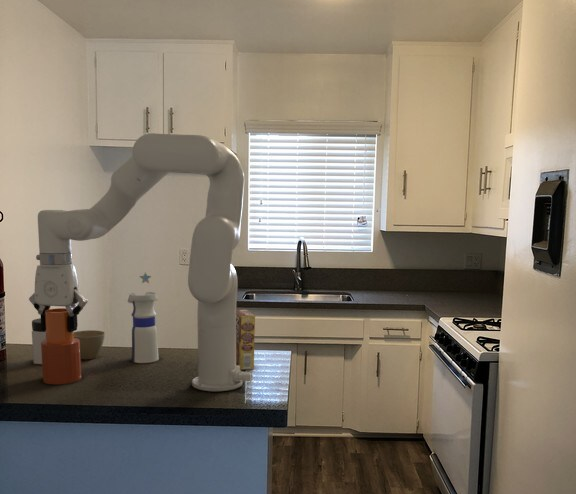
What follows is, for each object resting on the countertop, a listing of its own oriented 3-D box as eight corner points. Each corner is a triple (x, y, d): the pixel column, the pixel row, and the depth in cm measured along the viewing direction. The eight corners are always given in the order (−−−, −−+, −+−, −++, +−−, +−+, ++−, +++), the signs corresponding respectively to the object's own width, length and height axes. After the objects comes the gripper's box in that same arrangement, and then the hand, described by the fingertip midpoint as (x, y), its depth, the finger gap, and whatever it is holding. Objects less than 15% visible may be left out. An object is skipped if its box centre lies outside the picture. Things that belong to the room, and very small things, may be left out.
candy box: (255, 369, 172) (255, 314, 169) (240, 370, 170) (239, 315, 168) (248, 361, 180) (248, 309, 178) (233, 362, 179) (233, 309, 176)
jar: (58, 356, 184) (56, 316, 182) (70, 361, 179) (68, 320, 177) (28, 361, 178) (25, 319, 176) (39, 366, 173) (36, 324, 171)
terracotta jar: (88, 375, 164) (86, 338, 162) (68, 385, 155) (66, 346, 154) (57, 373, 166) (55, 336, 165) (35, 382, 157) (33, 344, 156)
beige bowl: (95, 362, 177) (94, 337, 176) (63, 360, 179) (61, 336, 178) (111, 354, 187) (110, 330, 186) (81, 352, 189) (80, 329, 188)
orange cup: (78, 339, 162) (77, 308, 160) (64, 344, 155) (62, 313, 154) (56, 337, 163) (54, 307, 162) (41, 343, 157) (39, 311, 156)
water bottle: (126, 358, 183) (123, 273, 179) (154, 354, 187) (152, 271, 183) (133, 364, 176) (130, 276, 172) (163, 361, 180) (160, 274, 176)
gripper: (15, 260, 154) (20, 331, 157) (78, 262, 150) (81, 335, 153) (34, 257, 161) (38, 325, 164) (95, 259, 157) (98, 329, 160)
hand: (59, 329), depth 159 cm, fingers open, 6 cm apart
